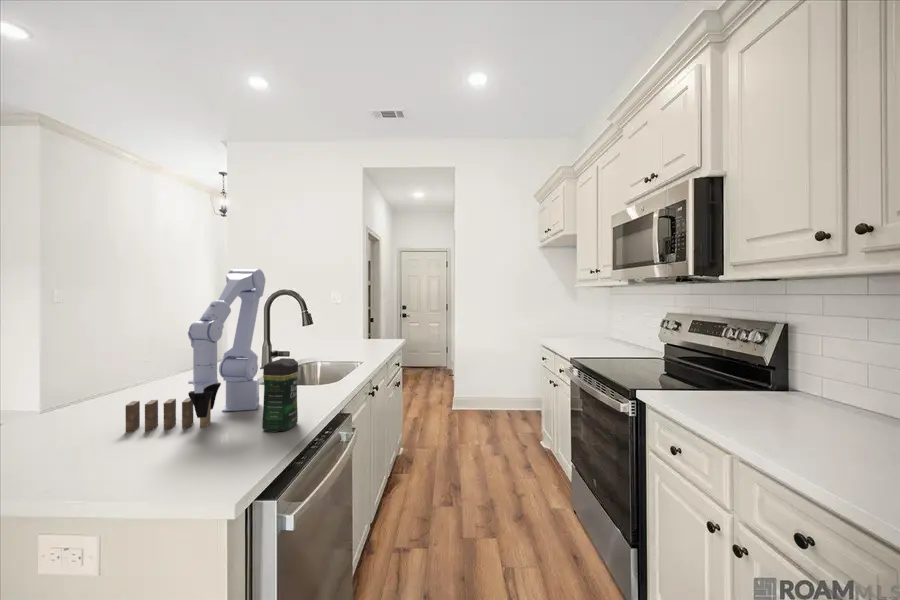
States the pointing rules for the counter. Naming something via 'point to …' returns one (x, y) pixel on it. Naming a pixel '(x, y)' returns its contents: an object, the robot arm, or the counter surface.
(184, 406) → the tile
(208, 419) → the tile
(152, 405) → the brown rectangular block
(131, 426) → the wood grain rectangular block
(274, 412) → the coffee jar
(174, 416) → the brown rectangular block
